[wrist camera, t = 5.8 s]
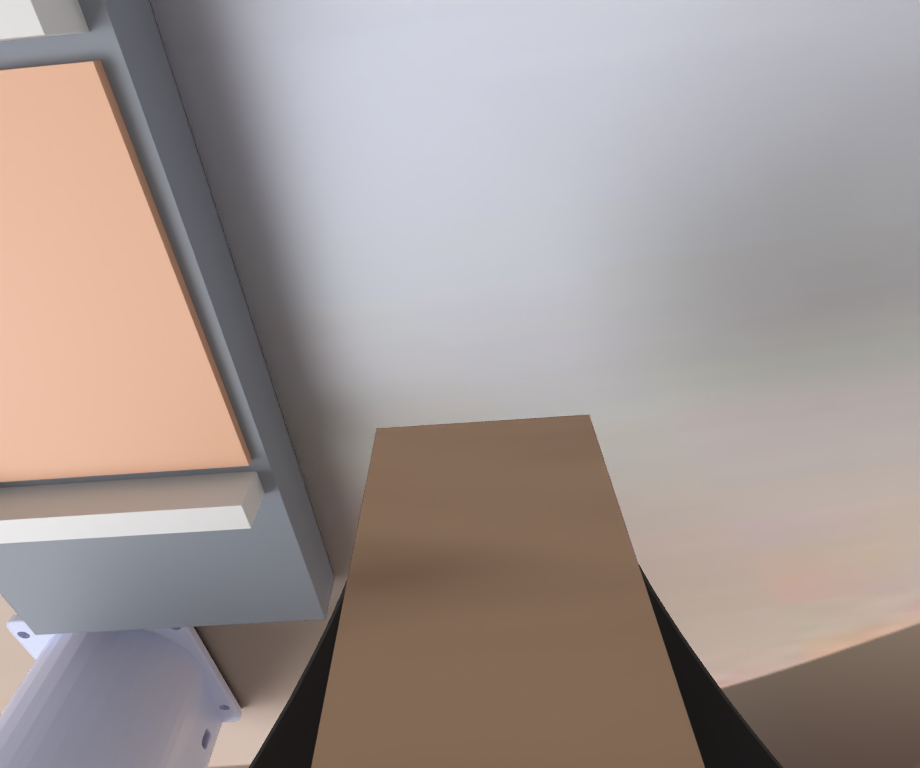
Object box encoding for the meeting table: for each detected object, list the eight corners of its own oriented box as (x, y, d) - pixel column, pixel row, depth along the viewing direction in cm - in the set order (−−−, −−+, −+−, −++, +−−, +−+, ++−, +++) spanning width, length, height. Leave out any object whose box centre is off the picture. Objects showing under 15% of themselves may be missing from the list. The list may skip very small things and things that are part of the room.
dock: (334, 577, 24) (317, 655, 21) (64, 592, 25) (11, 670, 22) (79, -217, 11) (-59, -300, 8) (-493, -147, 11) (-819, -202, 8)
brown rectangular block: (577, 610, 14) (645, 951, 9) (415, 619, 14) (391, 959, 9) (589, 414, 10) (710, 783, 5) (376, 428, 11) (304, 797, 6)
